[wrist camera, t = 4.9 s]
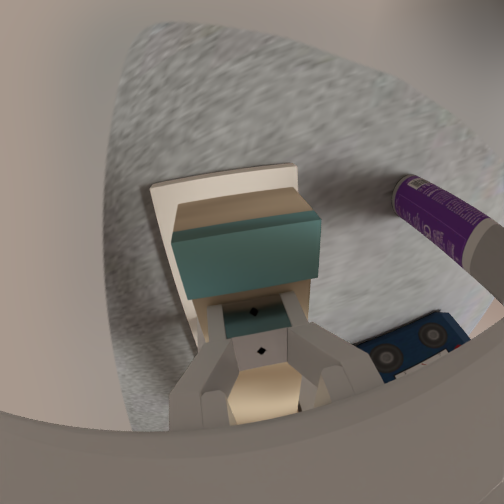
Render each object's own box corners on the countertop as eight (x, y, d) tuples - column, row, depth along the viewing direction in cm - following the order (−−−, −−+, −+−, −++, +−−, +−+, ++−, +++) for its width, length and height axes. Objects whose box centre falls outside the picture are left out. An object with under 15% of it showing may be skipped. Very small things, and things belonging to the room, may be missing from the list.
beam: (286, 444, 27) (291, 463, 25) (251, 450, 27) (255, 470, 25) (294, 182, 10) (327, 218, 7) (173, 200, 9) (163, 244, 7)
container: (383, 206, 24) (496, 302, 11) (406, 166, 22) (533, 241, 9) (409, 223, 26) (508, 312, 13) (430, 187, 24) (538, 261, 11)
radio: (446, 301, 35) (514, 389, 18) (432, 335, 40) (486, 416, 23) (333, 347, 34) (392, 477, 17) (331, 378, 39) (374, 486, 22)
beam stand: (293, 372, 35) (323, 464, 23) (215, 386, 34) (227, 483, 22) (292, 162, 21) (413, 263, 8) (152, 183, 20) (84, 320, 7)
